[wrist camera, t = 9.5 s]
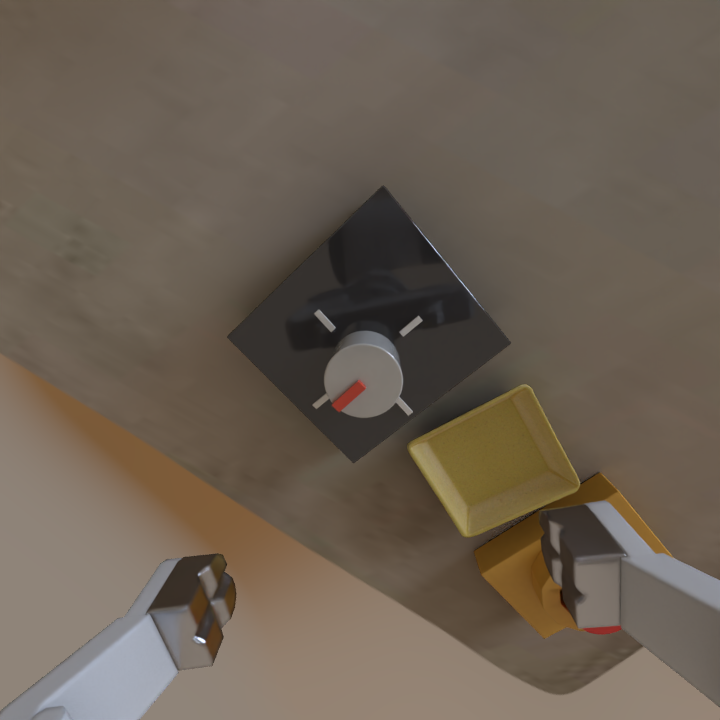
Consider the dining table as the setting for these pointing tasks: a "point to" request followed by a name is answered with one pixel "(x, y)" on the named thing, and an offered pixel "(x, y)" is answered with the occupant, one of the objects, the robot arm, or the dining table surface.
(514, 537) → the yellow button base
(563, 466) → the yellow square tray
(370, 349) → the knob
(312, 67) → the dining table surface
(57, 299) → the dining table surface
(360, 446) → the panel
